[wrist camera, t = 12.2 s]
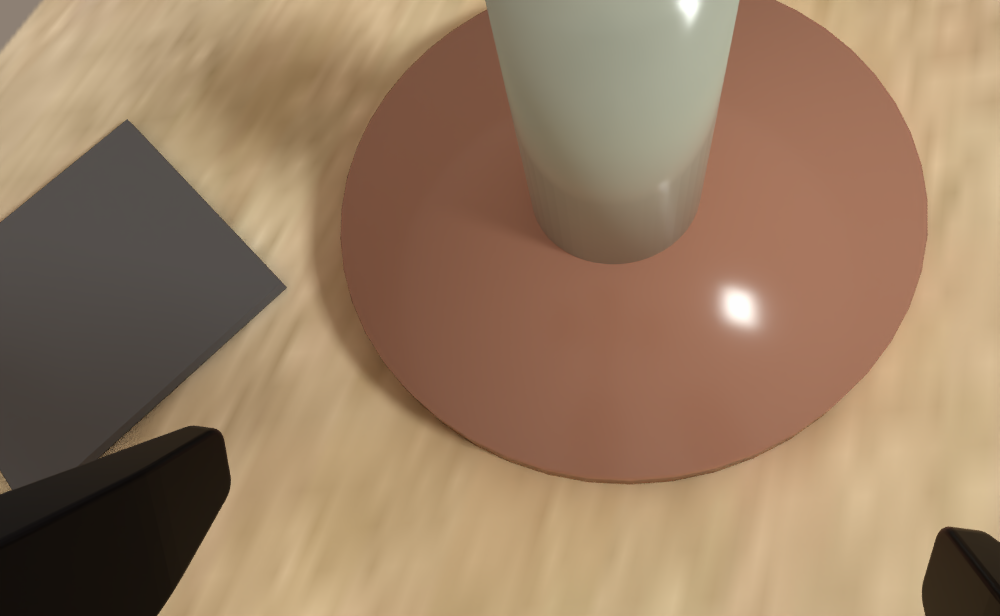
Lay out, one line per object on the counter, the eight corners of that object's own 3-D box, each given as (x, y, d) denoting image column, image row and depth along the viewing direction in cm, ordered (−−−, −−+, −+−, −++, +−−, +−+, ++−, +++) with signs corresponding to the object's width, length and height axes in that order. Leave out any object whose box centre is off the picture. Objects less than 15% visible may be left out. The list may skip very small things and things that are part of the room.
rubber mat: (35, 514, 21) (25, 512, 21) (-90, 308, 25) (-100, 303, 25) (286, 287, 23) (281, 282, 23) (134, 125, 27) (127, 119, 26)
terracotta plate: (638, 628, 18) (639, 630, 17) (255, 232, 24) (237, 214, 23) (1037, 178, 20) (1060, 155, 19) (599, -70, 27) (598, -99, 26)
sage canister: (556, 284, 20) (510, 69, 12) (513, 146, 22) (449, -120, 14) (727, 235, 20) (800, -20, 12) (668, 99, 22) (695, -200, 14)
